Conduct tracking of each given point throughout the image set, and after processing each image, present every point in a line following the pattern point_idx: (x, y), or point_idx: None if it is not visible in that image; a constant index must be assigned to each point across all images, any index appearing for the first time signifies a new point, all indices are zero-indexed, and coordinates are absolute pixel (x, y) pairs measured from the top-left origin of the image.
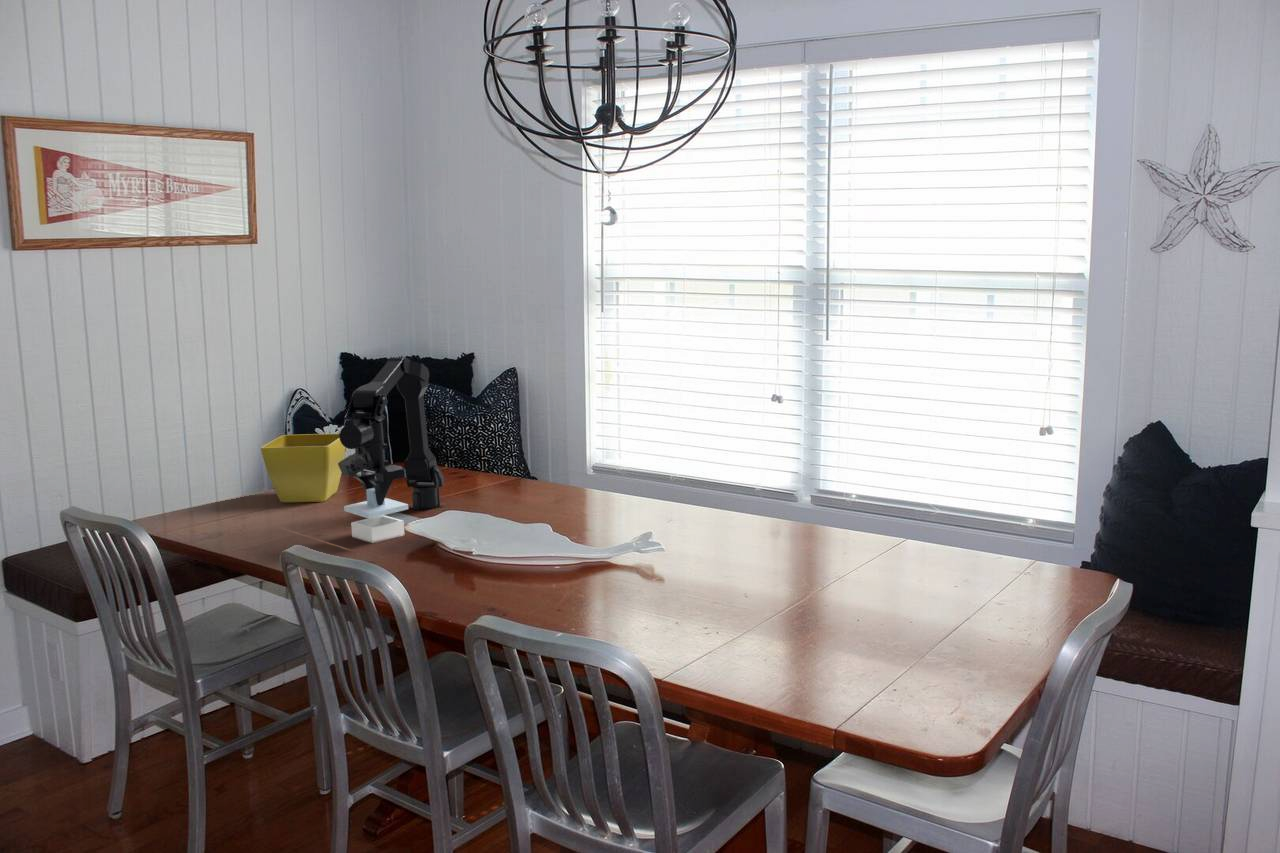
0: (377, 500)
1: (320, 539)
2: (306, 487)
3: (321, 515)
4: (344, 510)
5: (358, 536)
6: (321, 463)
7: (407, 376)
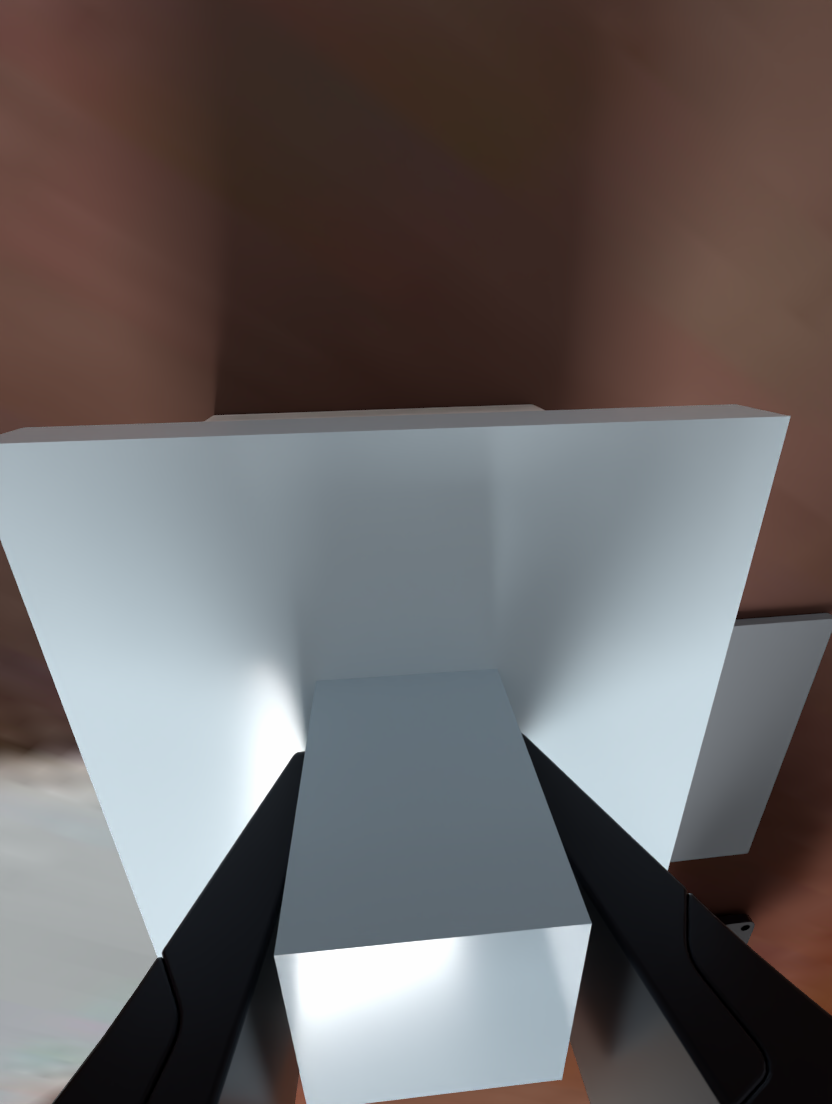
0: (278, 804)
1: (763, 180)
2: None
3: None
4: (733, 405)
5: (439, 413)
6: None
7: None
